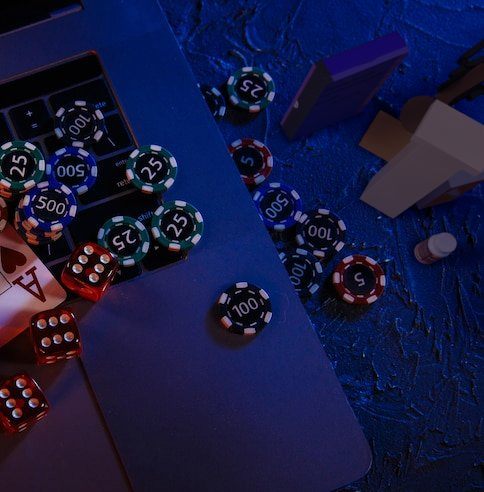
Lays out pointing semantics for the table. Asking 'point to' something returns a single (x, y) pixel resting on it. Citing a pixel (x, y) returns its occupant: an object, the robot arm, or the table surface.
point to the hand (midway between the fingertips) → (446, 94)
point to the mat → (385, 136)
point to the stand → (428, 160)
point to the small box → (450, 189)
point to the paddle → (438, 98)
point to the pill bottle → (435, 248)
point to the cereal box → (343, 85)
